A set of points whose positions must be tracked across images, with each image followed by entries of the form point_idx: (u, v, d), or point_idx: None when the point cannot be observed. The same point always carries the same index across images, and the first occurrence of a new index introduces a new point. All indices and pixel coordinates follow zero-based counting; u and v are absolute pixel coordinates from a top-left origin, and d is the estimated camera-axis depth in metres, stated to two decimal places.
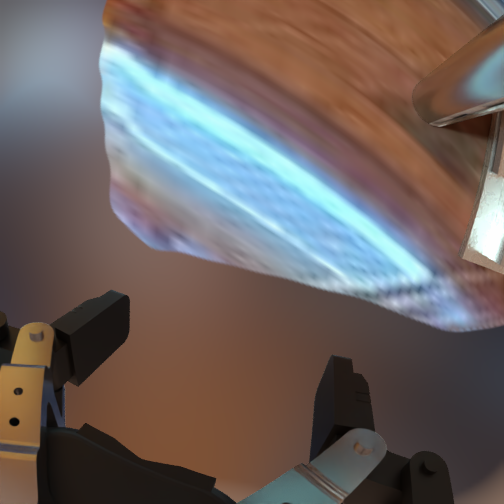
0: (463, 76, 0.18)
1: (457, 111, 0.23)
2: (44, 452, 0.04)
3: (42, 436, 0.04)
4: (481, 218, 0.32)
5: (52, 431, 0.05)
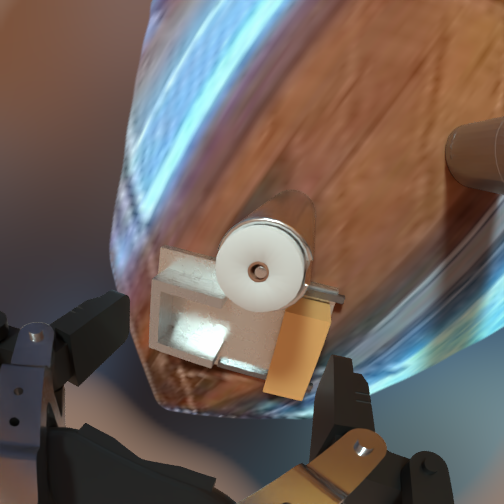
0: (267, 203, 0.28)
1: None
2: (44, 453, 0.04)
3: (42, 435, 0.04)
4: (194, 262, 0.46)
5: (52, 431, 0.05)
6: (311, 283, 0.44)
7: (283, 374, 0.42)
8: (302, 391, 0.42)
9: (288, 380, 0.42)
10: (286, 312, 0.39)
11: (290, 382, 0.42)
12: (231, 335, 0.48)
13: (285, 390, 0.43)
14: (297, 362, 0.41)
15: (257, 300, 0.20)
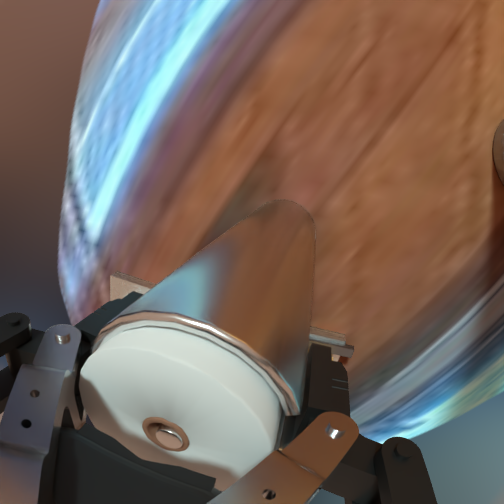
0: (226, 235, 0.16)
1: None
2: (53, 457, 0.04)
3: (54, 440, 0.04)
4: None
5: (66, 436, 0.05)
6: None
7: None
8: None
9: None
10: None
11: None
12: None
13: None
14: None
15: None
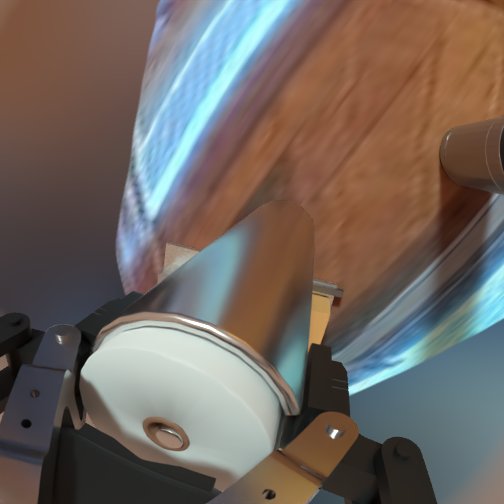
0: (226, 235, 0.16)
1: None
2: (53, 458, 0.04)
3: (54, 441, 0.04)
4: None
5: (66, 436, 0.05)
6: None
7: None
8: None
9: None
10: None
11: None
12: None
13: None
14: None
15: None
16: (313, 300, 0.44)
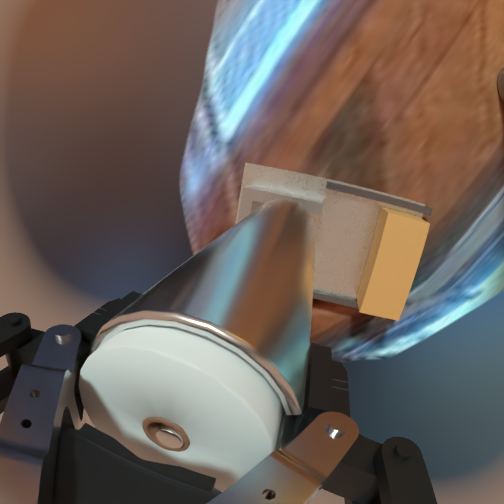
0: (226, 234, 0.16)
1: None
2: (53, 457, 0.04)
3: (54, 440, 0.04)
4: (283, 176, 0.44)
5: (66, 436, 0.05)
6: None
7: (383, 287, 0.39)
8: (399, 308, 0.39)
9: (387, 295, 0.39)
10: (389, 213, 0.37)
11: (389, 297, 0.39)
12: (319, 257, 0.46)
13: (383, 308, 0.40)
14: (398, 272, 0.38)
15: None
16: (407, 215, 0.39)
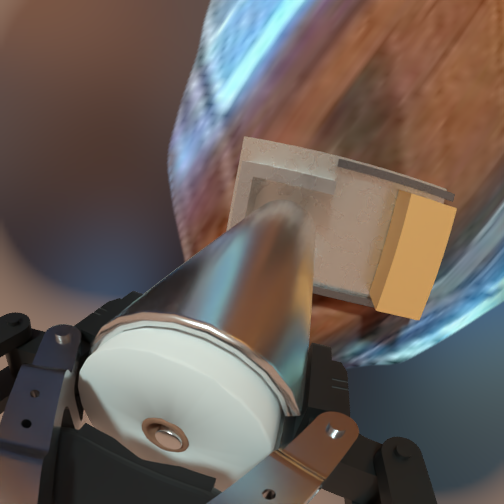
0: (226, 235, 0.16)
1: None
2: (53, 457, 0.04)
3: (54, 440, 0.04)
4: (288, 152, 0.37)
5: (66, 436, 0.05)
6: None
7: (403, 282, 0.33)
8: (421, 306, 0.33)
9: (408, 290, 0.33)
10: (412, 194, 0.30)
11: (409, 293, 0.33)
12: (328, 246, 0.40)
13: (403, 306, 0.34)
14: (421, 263, 0.32)
15: None
16: None
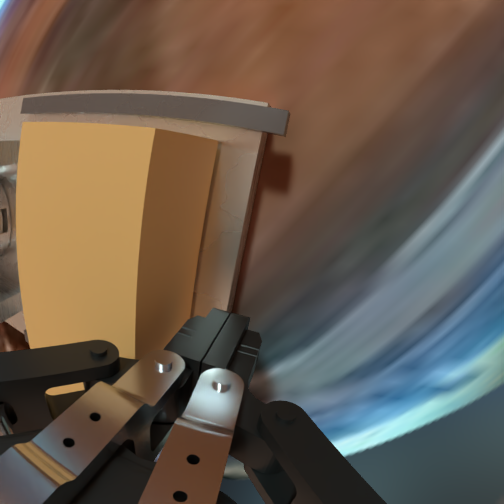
0: None
1: None
2: (81, 484, 0.04)
3: (90, 470, 0.04)
4: None
5: (111, 468, 0.05)
6: None
7: None
8: None
9: None
10: (25, 124, 0.08)
11: None
12: None
13: None
14: (79, 331, 0.10)
15: None
16: None
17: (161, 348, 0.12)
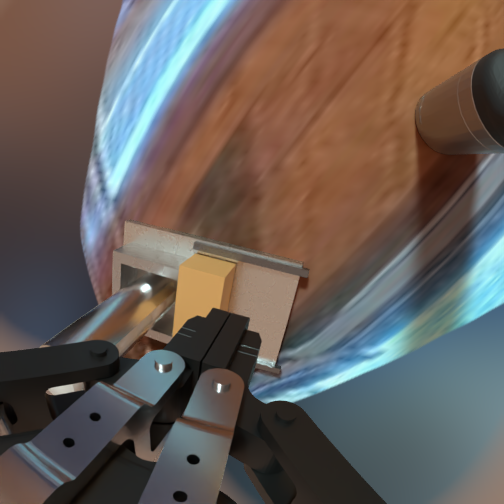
0: (94, 308, 0.32)
1: None
2: (81, 484, 0.04)
3: (90, 469, 0.04)
4: (156, 235, 0.45)
5: (111, 468, 0.05)
6: (274, 256, 0.43)
7: None
8: None
9: None
10: (180, 266, 0.39)
11: None
12: None
13: None
14: None
15: (58, 393, 0.24)
16: (214, 264, 0.41)
17: None
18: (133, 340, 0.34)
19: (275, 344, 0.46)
